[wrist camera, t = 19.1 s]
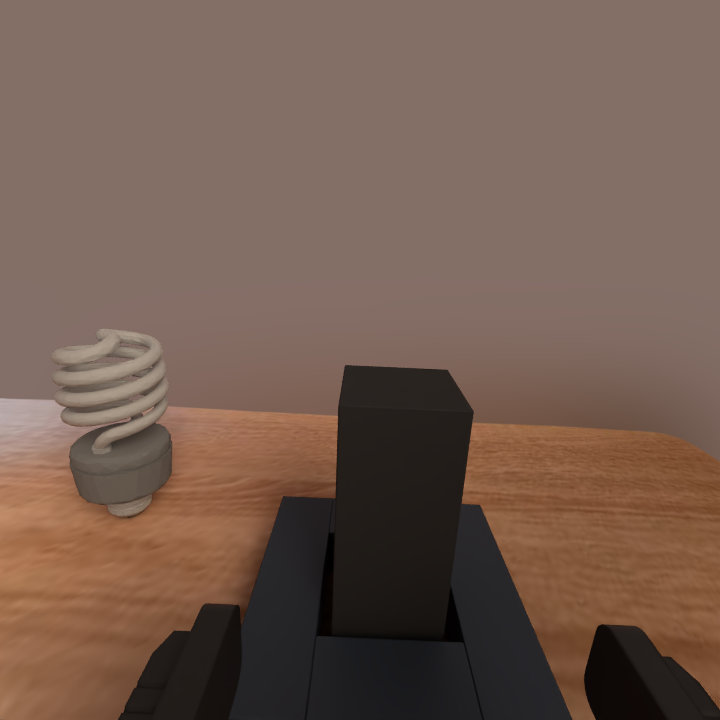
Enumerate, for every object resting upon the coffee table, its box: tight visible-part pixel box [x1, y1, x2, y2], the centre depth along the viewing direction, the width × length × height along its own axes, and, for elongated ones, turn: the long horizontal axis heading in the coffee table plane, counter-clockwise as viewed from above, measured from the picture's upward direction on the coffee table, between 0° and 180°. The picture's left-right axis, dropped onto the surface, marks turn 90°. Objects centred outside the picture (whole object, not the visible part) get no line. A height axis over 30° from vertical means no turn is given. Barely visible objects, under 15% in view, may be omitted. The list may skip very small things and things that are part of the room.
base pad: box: [228, 496, 572, 720], centre depth 19 cm, size 12×12×2 cm
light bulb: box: [51, 329, 172, 517], centre depth 24 cm, size 6×6×12 cm
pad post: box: [331, 365, 474, 642], centre depth 18 cm, size 5×5×12 cm
